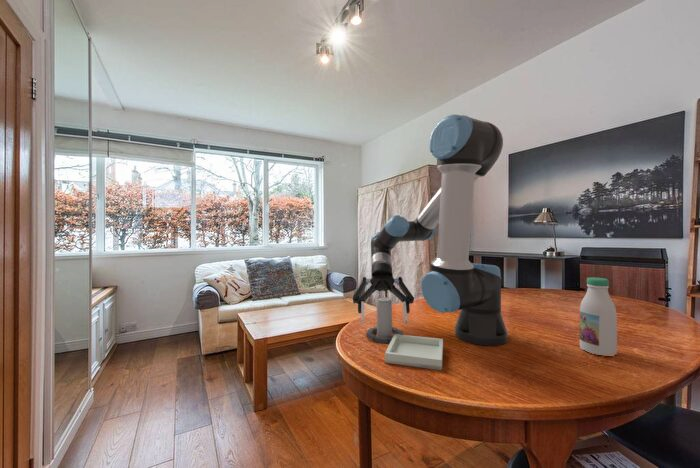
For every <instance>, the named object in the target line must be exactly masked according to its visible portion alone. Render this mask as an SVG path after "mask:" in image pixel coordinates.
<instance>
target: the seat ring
mask: <svg viewBox="0 0 700 468" xmlns="http://www.w3.org/2000/svg"><path fill="white" fill-rule="evenodd" d="M375 334H377V326H375V327H370V328H369V329H368V330H367V331H366V334H365V335H366V338H367V339H369V340H370V341H371V342H374V343H383V344H390V342H391V340H392V338H393V336H394V335H392V336H391V337H378V335H377V336H376V335H375ZM392 334H400V335H404V332H403V331H402V330H400V329H399V328H397V327H394V326H392Z"/></svg>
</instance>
